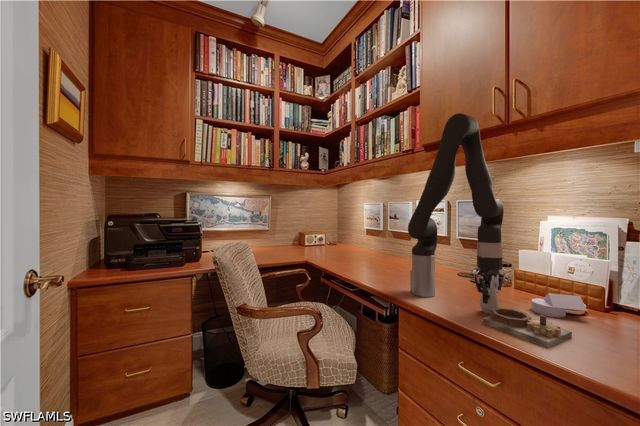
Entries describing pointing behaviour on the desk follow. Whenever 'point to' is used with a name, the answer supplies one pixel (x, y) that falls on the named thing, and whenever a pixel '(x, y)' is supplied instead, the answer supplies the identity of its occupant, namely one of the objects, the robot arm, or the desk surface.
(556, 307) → the wedge on round base
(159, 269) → the desk surface
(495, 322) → the peg board
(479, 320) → the desk surface
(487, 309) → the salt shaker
